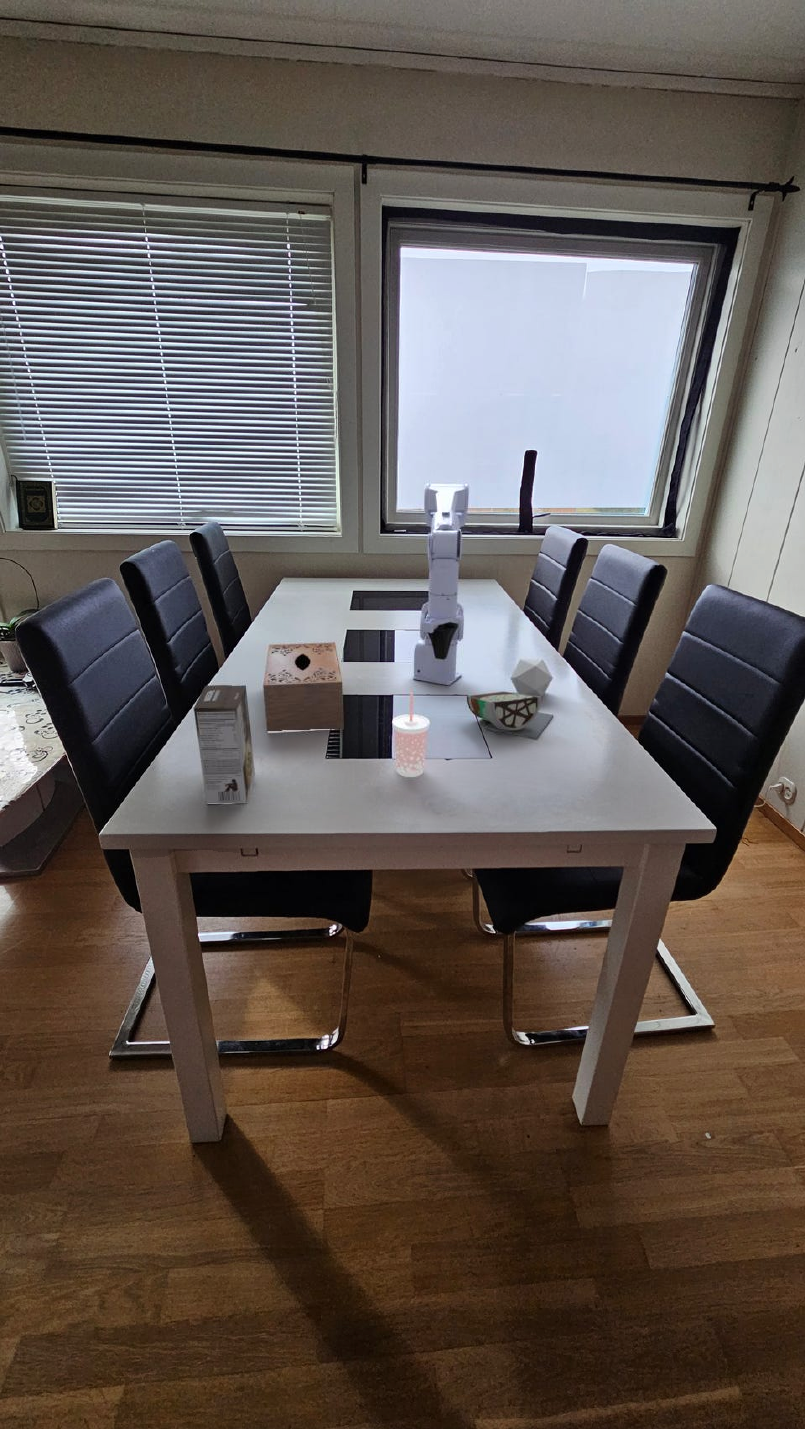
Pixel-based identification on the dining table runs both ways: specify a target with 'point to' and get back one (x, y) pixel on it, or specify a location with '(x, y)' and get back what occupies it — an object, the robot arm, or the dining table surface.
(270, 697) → the tissue box cover
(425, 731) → the beverage cup
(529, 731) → the mat
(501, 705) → the food container
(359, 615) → the dining table surface
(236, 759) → the coffee box
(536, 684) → the die
